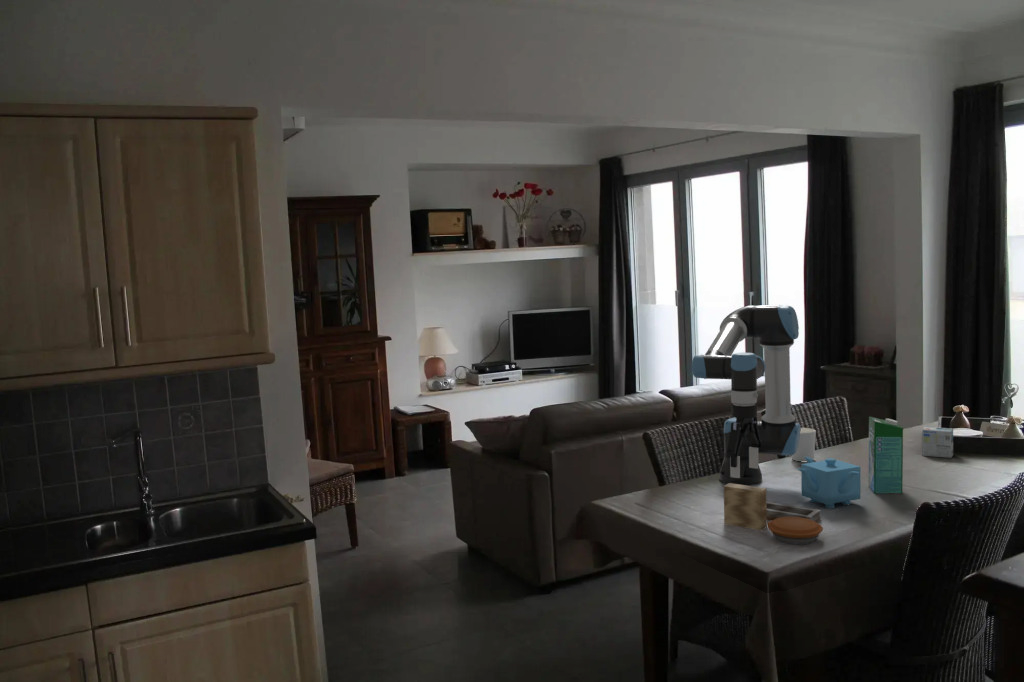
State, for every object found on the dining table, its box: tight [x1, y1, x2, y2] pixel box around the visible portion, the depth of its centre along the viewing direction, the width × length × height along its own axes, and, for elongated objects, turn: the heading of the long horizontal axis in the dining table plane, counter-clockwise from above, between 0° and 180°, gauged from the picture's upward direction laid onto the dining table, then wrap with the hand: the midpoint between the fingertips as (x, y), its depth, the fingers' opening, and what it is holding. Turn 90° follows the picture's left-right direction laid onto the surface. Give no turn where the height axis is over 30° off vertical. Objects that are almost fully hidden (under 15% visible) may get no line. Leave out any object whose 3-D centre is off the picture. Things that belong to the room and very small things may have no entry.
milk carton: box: [868, 416, 904, 495], centre depth 289 cm, size 9×9×25 cm
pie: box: [767, 517, 824, 545], centre depth 246 cm, size 15×16×5 cm
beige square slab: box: [723, 483, 768, 531], centre depth 258 cm, size 12×4×12 cm, turn 51°
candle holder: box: [791, 427, 817, 462], centre depth 336 cm, size 10×10×12 cm
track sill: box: [767, 501, 822, 523], centre depth 264 cm, size 20×9×3 cm, turn 51°
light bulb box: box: [921, 426, 954, 459], centre depth 335 cm, size 11×7×11 cm, turn 58°
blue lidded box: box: [797, 457, 862, 509], centre depth 278 cm, size 19×19×15 cm
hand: (744, 472), depth 257 cm, fingers open, 13 cm apart
